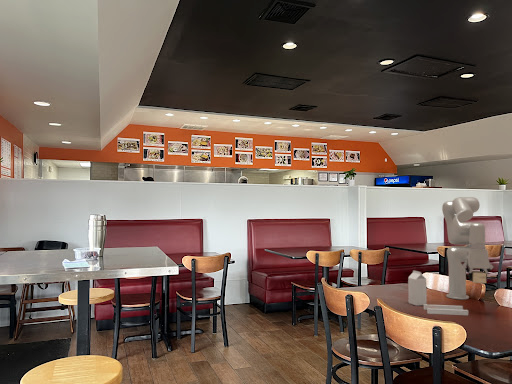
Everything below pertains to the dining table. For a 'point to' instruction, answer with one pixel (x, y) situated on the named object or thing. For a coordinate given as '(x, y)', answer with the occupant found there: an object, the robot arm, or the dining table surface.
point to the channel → (445, 309)
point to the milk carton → (417, 289)
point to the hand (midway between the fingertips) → (477, 280)
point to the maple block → (479, 277)
